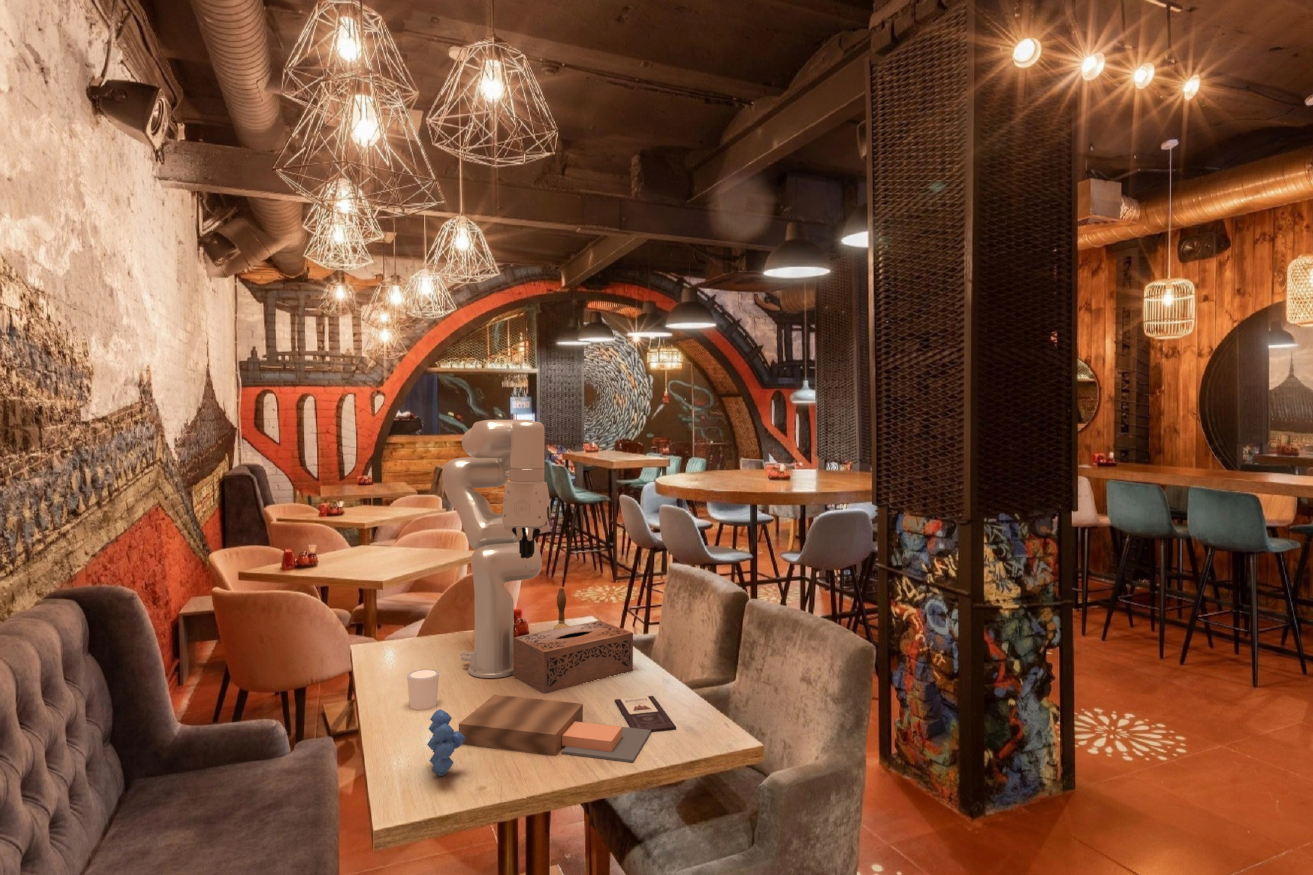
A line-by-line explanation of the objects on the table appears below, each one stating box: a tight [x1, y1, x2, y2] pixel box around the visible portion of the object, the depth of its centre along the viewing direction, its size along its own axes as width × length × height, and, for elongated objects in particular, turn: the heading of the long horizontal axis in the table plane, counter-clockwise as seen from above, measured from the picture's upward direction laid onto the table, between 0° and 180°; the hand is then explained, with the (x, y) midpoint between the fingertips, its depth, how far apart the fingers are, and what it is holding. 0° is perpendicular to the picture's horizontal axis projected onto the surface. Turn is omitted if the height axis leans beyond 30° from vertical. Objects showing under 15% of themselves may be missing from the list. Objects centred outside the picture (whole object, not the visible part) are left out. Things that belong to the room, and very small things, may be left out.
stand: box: [458, 694, 584, 756], centre depth 156 cm, size 20×16×4 cm
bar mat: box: [561, 722, 652, 764], centre depth 152 cm, size 14×14×1 cm
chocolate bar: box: [614, 695, 677, 733], centre depth 166 cm, size 9×1×18 cm
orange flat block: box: [562, 722, 623, 752], centre depth 151 cm, size 10×7×2 cm
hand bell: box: [552, 587, 570, 630], centre depth 214 cm, size 8×8×16 cm
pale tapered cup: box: [406, 668, 440, 711], centre depth 170 cm, size 7×7×7 cm
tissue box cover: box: [512, 620, 634, 695], centre depth 191 cm, size 26×14×10 cm, turn 129°
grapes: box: [427, 708, 466, 777], centre depth 138 cm, size 12×7×12 cm, turn 24°
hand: (526, 557), depth 174 cm, fingers closed
